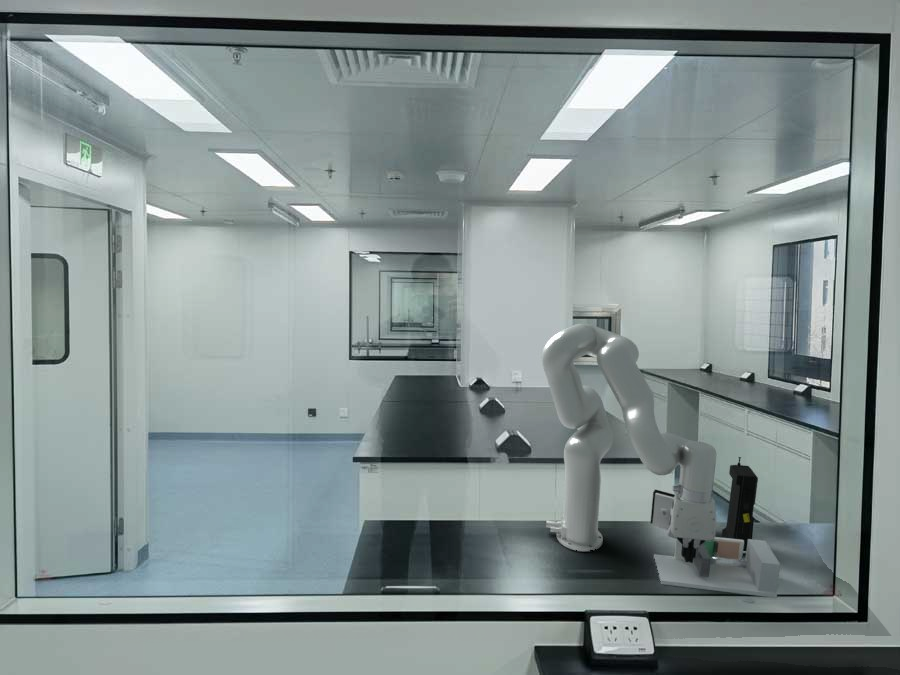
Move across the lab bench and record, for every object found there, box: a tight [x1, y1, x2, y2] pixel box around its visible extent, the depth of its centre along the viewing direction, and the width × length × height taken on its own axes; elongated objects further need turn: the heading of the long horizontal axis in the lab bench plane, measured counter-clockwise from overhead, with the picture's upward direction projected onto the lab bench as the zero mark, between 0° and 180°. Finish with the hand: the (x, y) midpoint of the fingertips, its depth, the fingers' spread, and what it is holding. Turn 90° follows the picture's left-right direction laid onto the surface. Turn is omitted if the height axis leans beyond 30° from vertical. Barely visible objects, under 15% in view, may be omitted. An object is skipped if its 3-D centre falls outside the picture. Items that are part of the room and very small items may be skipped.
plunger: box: [693, 542, 746, 577], centre depth 137 cm, size 11×7×6 cm, turn 79°
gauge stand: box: [653, 536, 781, 599], centre depth 137 cm, size 26×11×8 cm, turn 79°
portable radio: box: [721, 456, 759, 551], centre depth 148 cm, size 8×6×25 cm
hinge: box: [650, 488, 676, 531], centre depth 159 cm, size 14×5×10 cm, turn 69°
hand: (687, 559), depth 138 cm, fingers closed
